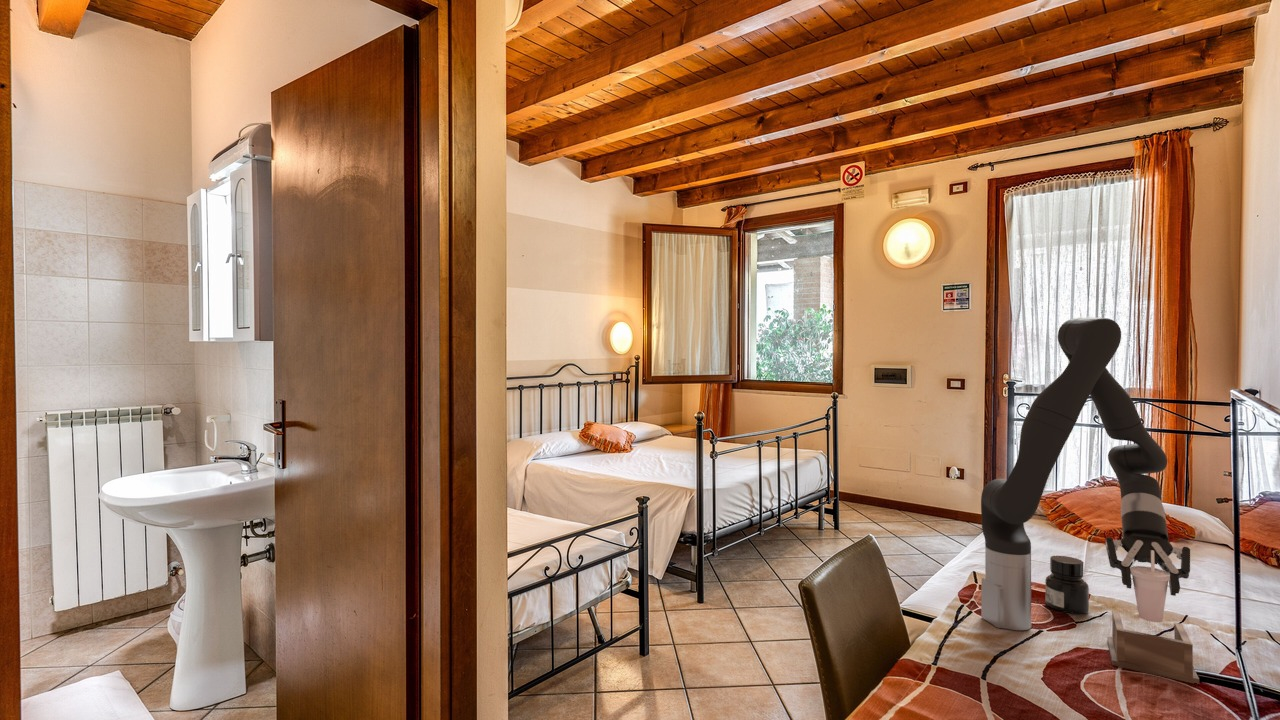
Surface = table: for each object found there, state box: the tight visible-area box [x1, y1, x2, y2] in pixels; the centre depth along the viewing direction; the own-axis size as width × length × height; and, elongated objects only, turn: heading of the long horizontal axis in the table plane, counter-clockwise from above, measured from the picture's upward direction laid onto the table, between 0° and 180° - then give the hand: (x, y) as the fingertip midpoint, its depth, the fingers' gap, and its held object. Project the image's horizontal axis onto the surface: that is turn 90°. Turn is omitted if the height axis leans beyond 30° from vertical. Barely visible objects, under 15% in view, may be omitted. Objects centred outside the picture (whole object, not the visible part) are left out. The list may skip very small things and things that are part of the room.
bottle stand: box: [1107, 610, 1200, 685], centre depth 123 cm, size 13×13×7 cm
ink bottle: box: [1044, 555, 1090, 615], centre depth 150 cm, size 10×9×12 cm
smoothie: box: [1130, 550, 1170, 623], centre depth 123 cm, size 6×6×14 cm
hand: (1151, 589), depth 122 cm, fingers closed on smoothie, 6 cm apart
